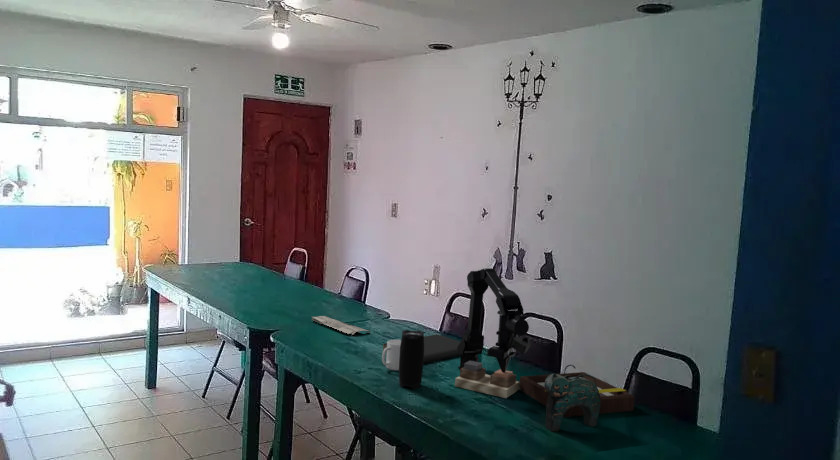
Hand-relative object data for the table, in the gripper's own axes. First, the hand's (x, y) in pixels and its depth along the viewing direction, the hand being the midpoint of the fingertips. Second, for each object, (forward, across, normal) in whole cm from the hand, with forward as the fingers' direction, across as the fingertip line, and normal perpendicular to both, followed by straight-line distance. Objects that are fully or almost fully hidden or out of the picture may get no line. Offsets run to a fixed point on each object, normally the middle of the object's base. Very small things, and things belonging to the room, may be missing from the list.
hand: (503, 371), depth 231 cm
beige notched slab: (+8, +38, +102) cm, 109 cm away
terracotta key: (+3, 0, 0) cm, 3 cm away
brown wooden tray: (+8, +8, -23) cm, 26 cm away
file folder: (+8, +29, +46) cm, 55 cm away
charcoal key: (+2, 0, +12) cm, 12 cm away
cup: (+7, -2, +45) cm, 46 cm away
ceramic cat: (+7, -18, -30) cm, 36 cm away
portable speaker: (+7, -16, +29) cm, 34 cm away
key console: (+7, 0, +6) cm, 9 cm away
